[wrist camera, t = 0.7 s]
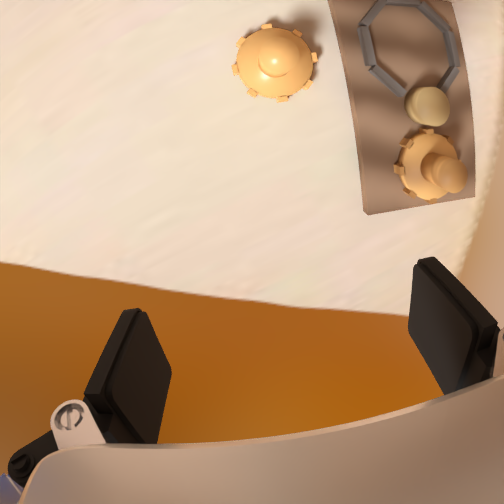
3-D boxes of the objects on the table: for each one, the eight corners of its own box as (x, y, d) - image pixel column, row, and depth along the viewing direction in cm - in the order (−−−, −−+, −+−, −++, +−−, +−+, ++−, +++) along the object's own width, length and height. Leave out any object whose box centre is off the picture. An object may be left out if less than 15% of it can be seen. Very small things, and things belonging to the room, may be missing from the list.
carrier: (326, -3, 25) (347, -28, 18) (444, 4, 24) (480, -9, 17) (363, 211, 35) (389, 236, 28) (468, 193, 34) (504, 213, 27)
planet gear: (225, 35, 27) (220, 19, 21) (305, 23, 26) (317, 6, 21) (241, 109, 30) (240, 108, 24) (321, 96, 29) (336, 94, 24)
